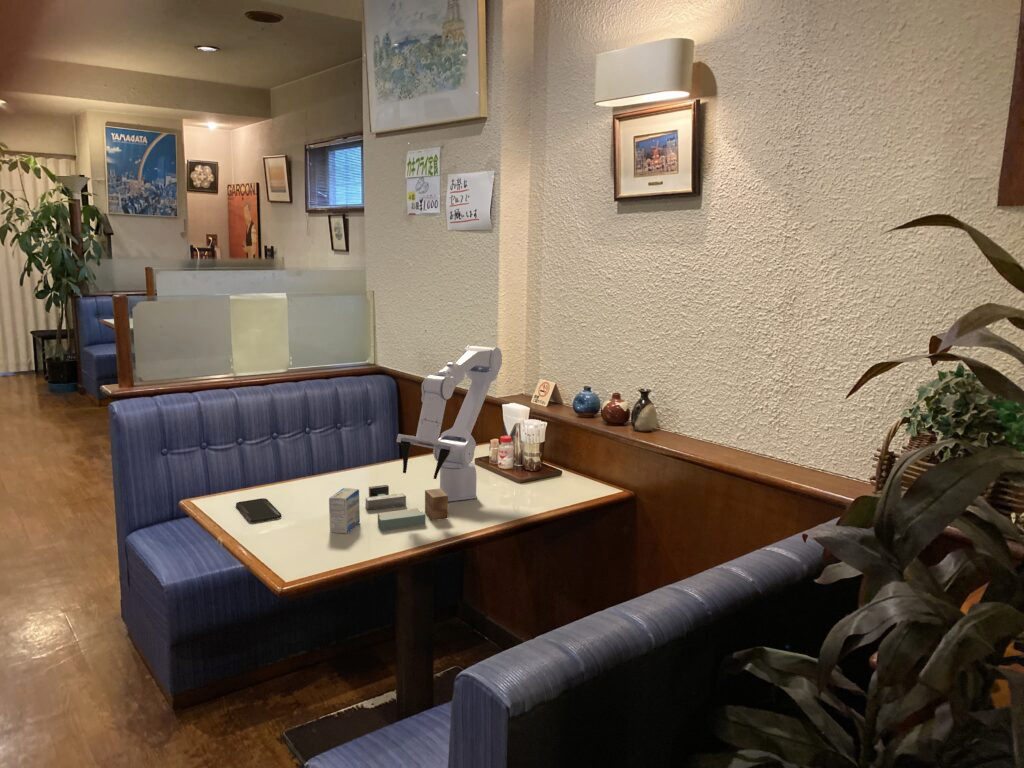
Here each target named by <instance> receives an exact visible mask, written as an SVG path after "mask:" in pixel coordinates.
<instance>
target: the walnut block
mask: <svg viewBox="0 0 1024 768" xmlns="http://www.w3.org/2000/svg"><path fill="white" fill-rule="evenodd" d="M424 514H425V515H427V516H428V518H430V520H431V521H438V520H446V518H448V519H449V502H448V495H447V494H446V493H445V492H443V491H442V490H441V489H440V488H433V489H425V490H424Z"/></svg>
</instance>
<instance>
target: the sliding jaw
mask: <svg viewBox="0 0 1024 768" xmlns="http://www.w3.org/2000/svg"><path fill="white" fill-rule="evenodd" d="M389 489H390V488H389V485H388V484H382V485H371V486H368V497H365V508H366V510H368V511H370V510H371V511H372V510H379V509H380V510H381V509H385V508H386V509H387V508H395V507H402V506H407V495H406V494H405V493H404V492H403V493H402V492H401V493H394V494H390V492H389V491H390V490H389Z"/></svg>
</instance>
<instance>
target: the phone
mask: <svg viewBox="0 0 1024 768" xmlns="http://www.w3.org/2000/svg"><path fill="white" fill-rule="evenodd" d="M235 507H236V509H238V511H239V512H240V513H241V514H242V515H243V516H244V519H246V520H247V521H248V523H249V524H258V523H263V522H262V521H264V522H268V521H267V520H270V521H273V520H272V519H275V520H278V519H277V518H280V517H281V518H282V512H280V511H279V510H278V509H277V508H276V506H274V505H273V504H272V503H271V502H270V501H269V500H268V499H267V498H266V497H265V498H264V497H263V498H256V499H249V500H243V501H238V502H235ZM281 518H280V519H281Z"/></svg>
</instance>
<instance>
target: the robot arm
mask: <svg viewBox="0 0 1024 768" xmlns="http://www.w3.org/2000/svg"><path fill="white" fill-rule="evenodd" d="M502 364H503V354H502V351H501V349H500V348H499V347H498V346H494V347H491V346H481V345H472V344H468V345H467V346H466V347H464V348H463V352H462V356H461V357H460V358H459V359H458V360H457V361H456V362H452V361H451V362H450V361H449V362H447V363H446V365H445V366H444V367H442V368H441V370H439V371H438V372H436V373H435V374H434V375H432V374H431V375H428V376H426V377H425V378H424V379H423V382H421V387H420V388H421V402H422V405H421V411H420V413H419V414H420V415H419V420H418V424H417V431H416V434H415V435H416V436H414V435H407V434H402V433H398V434H397V437H396V443H400V449H401V453H402V465H403V466H402V467H403V468H402V473H403V474H407V469H408V461H409V458H410V457H409V456H410V452H411V447H412V445H413V446H418V447H424V448H427V449H433V450H432V454H433V456H434V457H433V458H434V460H435V461H436V462H437V464H436V468H435V470H434V475H433V479H434V480H437V478H438V475H439V489H441V490H442V491H443V492H445V493H446V494H447V495H448V503H449V502H457V501H464V500H472V499H473V500H474V499H477V498H478V495H477V470H476V469H477V468H476V466H475V464H474V463H473V462H472V461H473V460H474V457H475V450H476V447H477V443H476V440H475V439H474V437H473V436H472V431H473V429H474V426H475V425H476V421H477V418H478V417H479V414H480V413H481V410H482V407H483V404H484V403H485V399H486V397H487V395H488V392H489V391H490V390H489V389H490V387H491V384H492V382H493V381H495V380H496V379H497V377H498V375H499V372H500V370H501V368H502ZM465 374H466V375H465ZM465 376H466V377H467V378H468V379H470V380H471V382H470V383H471V384H470V385H469V388H468V390H467V393H466V395H465V397H464V400H463V402H462V404H461V407H460V409H459V411H458V414H457V416H456V419H455V422H454V423H453V426H452V427H451V428H449V429H446V430H445V431H443V432H442V433H441V430H442V425H443V419H444V414H445V409H446V404H447V400H449V399H451V397H452V396H453V393H454V391H455V389H456V387H457V386H458V385H459V384H461V382H463V380H464V379H465Z"/></svg>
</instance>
